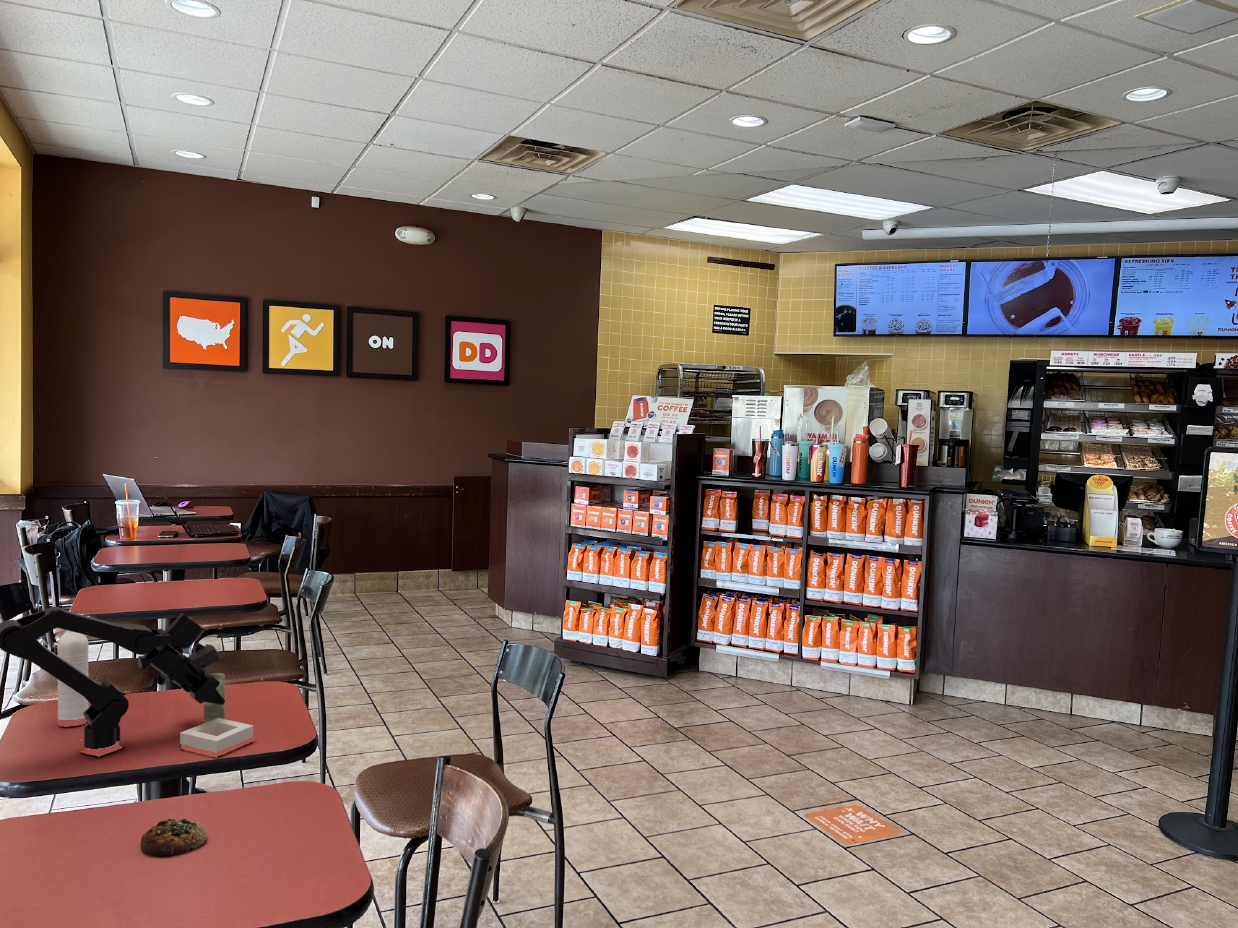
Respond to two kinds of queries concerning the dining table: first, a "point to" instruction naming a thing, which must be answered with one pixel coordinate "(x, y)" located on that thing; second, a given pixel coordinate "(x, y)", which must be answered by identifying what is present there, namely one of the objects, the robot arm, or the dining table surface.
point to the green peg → (216, 710)
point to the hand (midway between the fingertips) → (220, 700)
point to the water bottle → (76, 654)
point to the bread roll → (173, 837)
